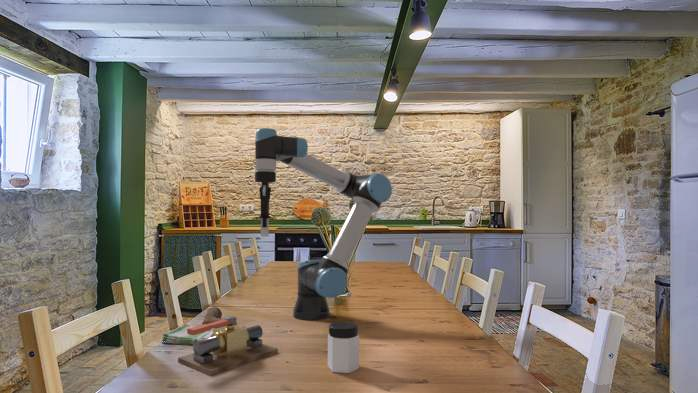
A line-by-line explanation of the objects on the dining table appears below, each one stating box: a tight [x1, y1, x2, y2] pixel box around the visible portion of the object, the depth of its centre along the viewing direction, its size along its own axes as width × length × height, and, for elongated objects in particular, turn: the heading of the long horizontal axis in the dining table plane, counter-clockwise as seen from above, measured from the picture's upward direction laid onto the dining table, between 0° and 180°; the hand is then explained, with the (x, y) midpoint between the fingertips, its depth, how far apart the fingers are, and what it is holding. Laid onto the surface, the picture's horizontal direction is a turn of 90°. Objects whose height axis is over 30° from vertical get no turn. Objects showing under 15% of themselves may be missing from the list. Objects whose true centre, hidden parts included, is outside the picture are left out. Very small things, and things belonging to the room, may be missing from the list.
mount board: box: [177, 343, 279, 376], centre depth 131 cm, size 24×16×1 cm, turn 142°
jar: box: [327, 321, 360, 374], centre depth 123 cm, size 9×8×12 cm
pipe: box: [201, 306, 238, 328], centre depth 165 cm, size 6×17×10 cm
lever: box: [187, 315, 237, 335], centre depth 126 cm, size 16×4×2 cm, turn 149°
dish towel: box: [161, 324, 216, 346], centre depth 151 cm, size 17×23×4 cm
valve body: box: [192, 324, 264, 365], centre depth 131 cm, size 22×7×9 cm, turn 142°
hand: (264, 236), depth 159 cm, fingers closed
